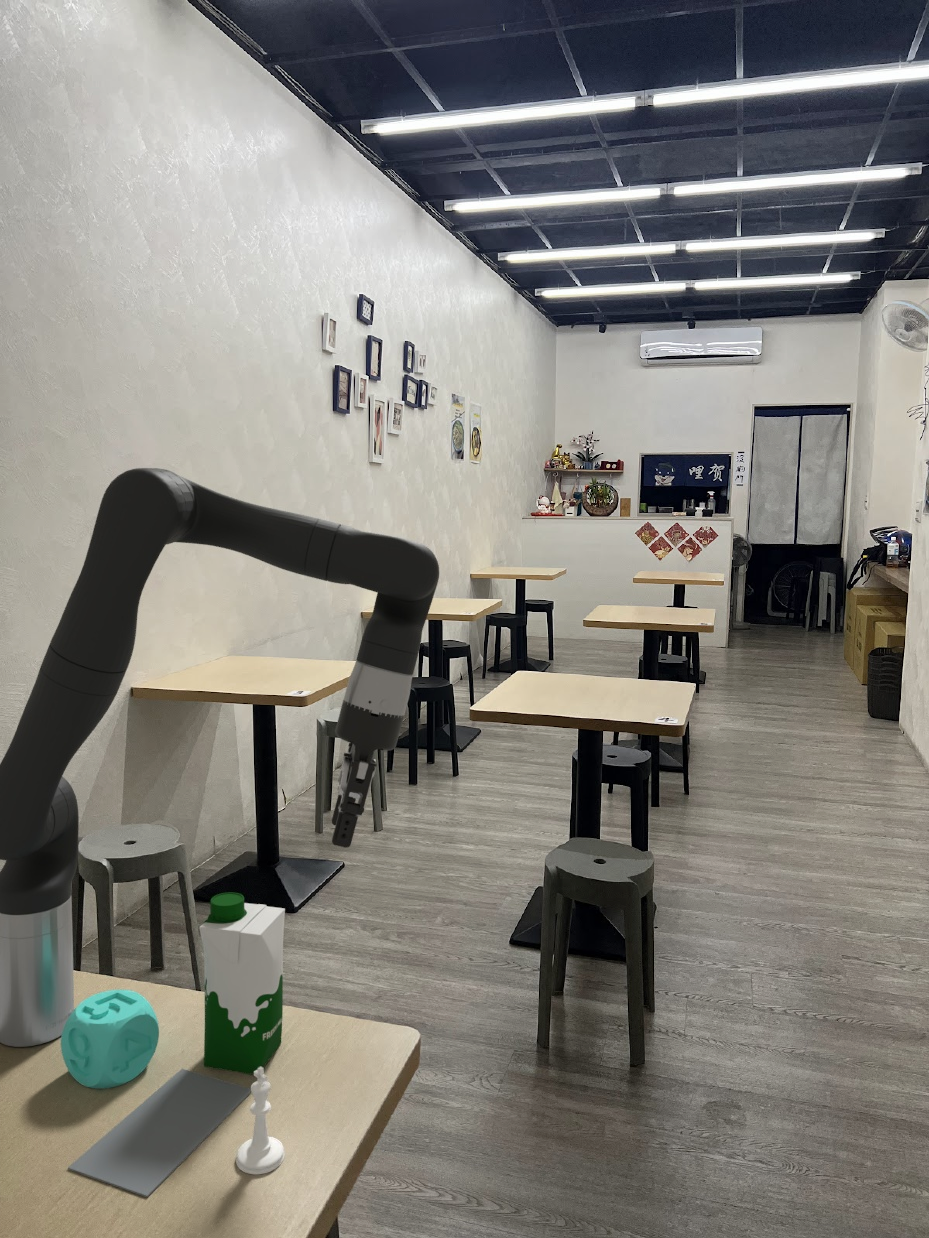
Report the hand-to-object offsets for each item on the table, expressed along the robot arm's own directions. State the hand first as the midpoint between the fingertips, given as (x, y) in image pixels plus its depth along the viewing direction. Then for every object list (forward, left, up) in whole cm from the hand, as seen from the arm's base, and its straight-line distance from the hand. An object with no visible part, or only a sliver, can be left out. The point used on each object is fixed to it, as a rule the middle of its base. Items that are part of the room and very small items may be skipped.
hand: (339, 835), depth 108 cm
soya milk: (-11, -3, -29) cm, 31 cm away
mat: (-11, -18, -29) cm, 36 cm away
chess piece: (+1, -18, -29) cm, 34 cm away
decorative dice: (-24, -12, -29) cm, 40 cm away
